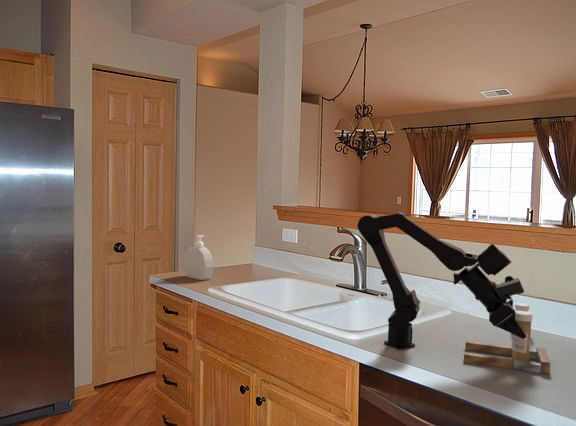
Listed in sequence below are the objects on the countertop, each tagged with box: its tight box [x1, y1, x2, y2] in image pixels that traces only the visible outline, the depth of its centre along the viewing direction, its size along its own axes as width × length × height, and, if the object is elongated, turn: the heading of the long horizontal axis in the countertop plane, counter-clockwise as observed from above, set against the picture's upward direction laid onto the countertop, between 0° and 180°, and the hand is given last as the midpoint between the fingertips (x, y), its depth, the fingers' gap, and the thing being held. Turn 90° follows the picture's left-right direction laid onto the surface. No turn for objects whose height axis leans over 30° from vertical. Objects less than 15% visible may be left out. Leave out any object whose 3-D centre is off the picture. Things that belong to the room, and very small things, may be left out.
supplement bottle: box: [514, 302, 530, 312], centre depth 152 cm, size 5×5×10 cm
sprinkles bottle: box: [510, 311, 533, 362], centre depth 128 cm, size 5×5×13 cm
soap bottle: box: [183, 234, 215, 281], centre depth 227 cm, size 16×5×20 cm, turn 49°
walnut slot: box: [463, 340, 551, 375], centre depth 130 cm, size 20×12×3 cm, turn 68°
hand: (523, 332), depth 127 cm, fingers open, 9 cm apart
